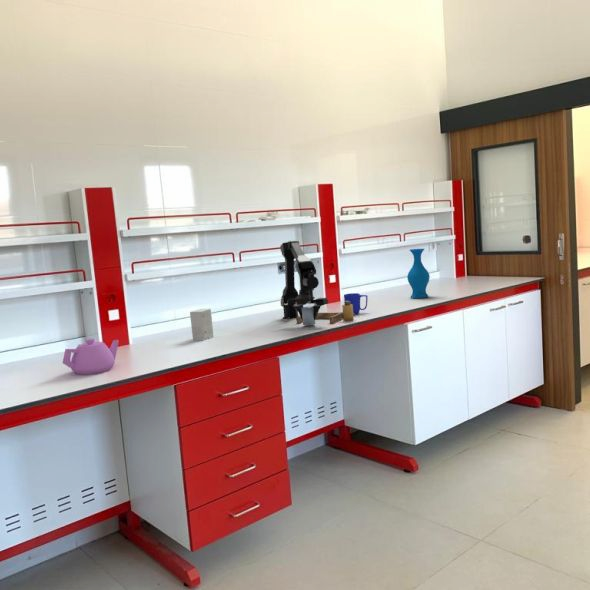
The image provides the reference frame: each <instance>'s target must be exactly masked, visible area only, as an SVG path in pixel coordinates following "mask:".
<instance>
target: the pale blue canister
mask: <svg viewBox="0 0 590 590" xmlns="http://www.w3.org/2000/svg"><path fill="white" fill-rule="evenodd" d="M302 320H303V322H302V325H303V326H312V325H315V324H316V320H314V309H313V307H312V306H311V305H309V306H303V307H302Z"/></svg>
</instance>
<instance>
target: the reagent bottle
mask: <svg viewBox="0 0 590 590" xmlns="http://www.w3.org/2000/svg"><path fill="white" fill-rule="evenodd" d="M341 309H342V312H343V319H342V321H343V322H353V321H354V320H355V319H354V314H353V305H352V304H350V301H345V300H344V303H343V304H342V305H341Z"/></svg>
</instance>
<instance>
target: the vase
mask: <svg viewBox="0 0 590 590" xmlns="http://www.w3.org/2000/svg"><path fill="white" fill-rule="evenodd" d="M424 251H425V248H413V249H409V252H410V253H411V254H412V256H413V264H412V266H411V268H410V270H409V271H408V273H407V281H408V283H409V286H410V287H411V289H412V293H411V295H410V298H411V299H426V298H428V297H429V295H428V293H427V286H428V285H429V282H430V278H431V277H430V273H429V271H428V270H427V268H425V266H424V264H423V262H422V254H423V252H424Z"/></svg>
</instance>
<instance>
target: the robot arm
mask: <svg viewBox="0 0 590 590" xmlns="http://www.w3.org/2000/svg"><path fill="white" fill-rule="evenodd" d="M279 249H280V252H281V255H282V257H283V258H284V271H285V273H284V274H285V276H284V277H285V281H284V282H285V287H284V288H283V290H282V295H281V298H280V306H281V307H282V308H283V309H282V310H283V317H282V319H296V317H299V316H300V317H301V319H302V307H304V306H305V305H307V304H308V305H309V304H314V305H313V306H312V307H313V309H314V320H315V321H316V320H317V319H316V317H317V314H318V313H319V311H320V309H321V307H323V306H326V305H327V304H329V299H328V298H327V297H318V298H316V299H315V296H314V290H315V289H316V288H317V287H318V286H319V284H320V283H319V282H320V281H319V279H318V278H317V277H316V276H315V275H317V269H316V266H315V264H314V263H313V261H312V259H311V258H310V257H308V256H306V254H305V253H304V251H303V249H302V247H301V245H300V241H299V240H297V239H292V240H288V241H287V242H285V241H284V242H282V244H281V245H280V248H279ZM295 261H296V264H295ZM295 269H296V272H297V274H298V277H299V287H300V288H299V292H298V290H297V289H296V287H295V284H296V283H295Z"/></svg>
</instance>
